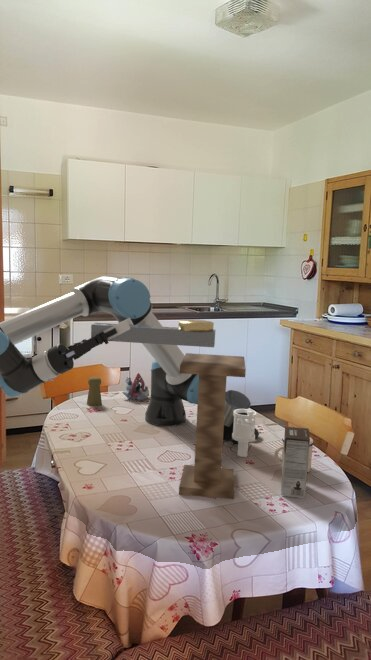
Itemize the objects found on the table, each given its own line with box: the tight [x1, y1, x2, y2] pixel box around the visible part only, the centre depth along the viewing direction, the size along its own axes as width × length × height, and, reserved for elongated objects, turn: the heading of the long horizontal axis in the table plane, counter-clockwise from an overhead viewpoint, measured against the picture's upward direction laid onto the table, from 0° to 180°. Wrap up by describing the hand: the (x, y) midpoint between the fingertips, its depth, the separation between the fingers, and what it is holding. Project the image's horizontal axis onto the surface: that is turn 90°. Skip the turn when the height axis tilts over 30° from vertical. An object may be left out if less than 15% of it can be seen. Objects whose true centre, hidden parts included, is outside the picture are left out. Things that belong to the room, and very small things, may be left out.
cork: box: [86, 376, 102, 407], centre depth 203 cm, size 6×6×11 cm
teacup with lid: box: [274, 435, 315, 473], centre depth 148 cm, size 12×9×12 cm
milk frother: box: [223, 389, 260, 446], centre depth 169 cm, size 14×16×15 cm
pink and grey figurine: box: [122, 372, 150, 402], centre depth 214 cm, size 11×11×12 cm
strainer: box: [232, 408, 257, 458], centre depth 156 cm, size 7×7×15 cm
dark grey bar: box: [90, 319, 216, 348], centre depth 131 cm, size 32×9×6 cm, turn 85°
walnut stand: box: [178, 352, 247, 500], centre depth 133 cm, size 16×16×34 cm
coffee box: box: [280, 426, 310, 499], centre depth 133 cm, size 9×6×16 cm
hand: (129, 323), depth 131 cm, fingers closed on dark grey bar, 4 cm apart
